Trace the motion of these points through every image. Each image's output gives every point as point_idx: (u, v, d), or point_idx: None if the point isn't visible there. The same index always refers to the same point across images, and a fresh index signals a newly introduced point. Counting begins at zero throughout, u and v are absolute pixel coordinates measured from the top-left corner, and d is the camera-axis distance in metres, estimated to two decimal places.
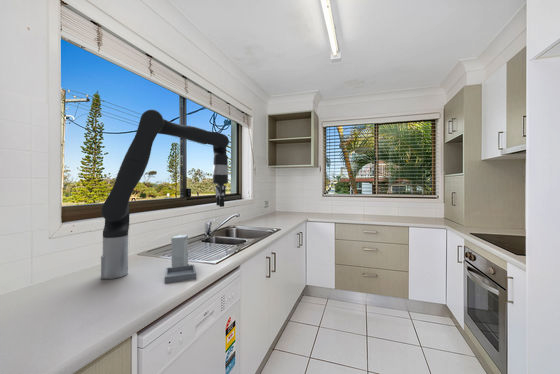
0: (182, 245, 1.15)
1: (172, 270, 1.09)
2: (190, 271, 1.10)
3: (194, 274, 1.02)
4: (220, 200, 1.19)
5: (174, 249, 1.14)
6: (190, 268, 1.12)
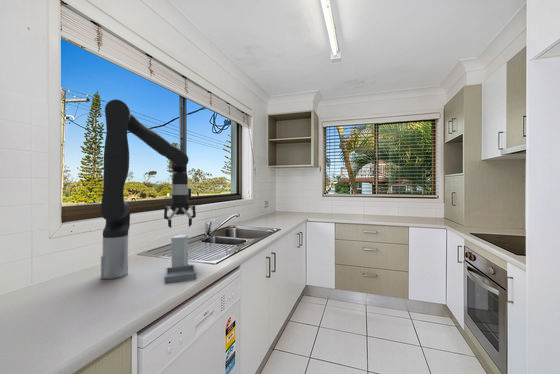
0: (182, 245, 1.15)
1: (172, 270, 1.09)
2: (190, 271, 1.10)
3: (194, 274, 1.02)
4: (190, 220, 1.20)
5: (174, 249, 1.14)
6: (190, 268, 1.12)
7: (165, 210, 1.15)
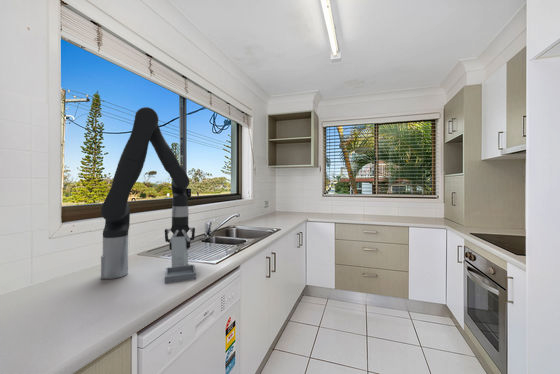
0: (182, 245, 1.15)
1: (172, 270, 1.09)
2: (190, 271, 1.10)
3: (194, 274, 1.02)
4: (188, 242, 1.19)
5: (174, 249, 1.14)
6: (190, 268, 1.12)
7: (165, 233, 1.15)
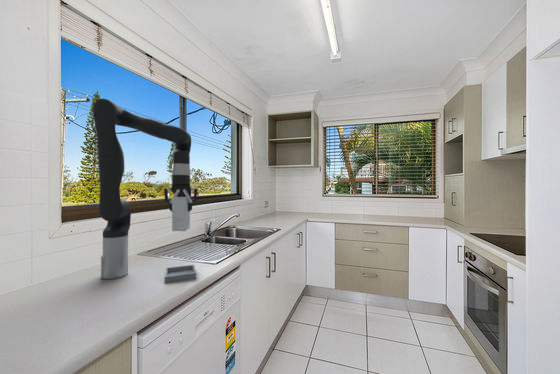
0: (184, 205, 1.05)
1: (172, 270, 1.09)
2: (190, 271, 1.10)
3: (194, 274, 1.02)
4: (190, 204, 1.10)
5: (175, 209, 1.05)
6: (190, 268, 1.12)
7: (165, 192, 1.05)
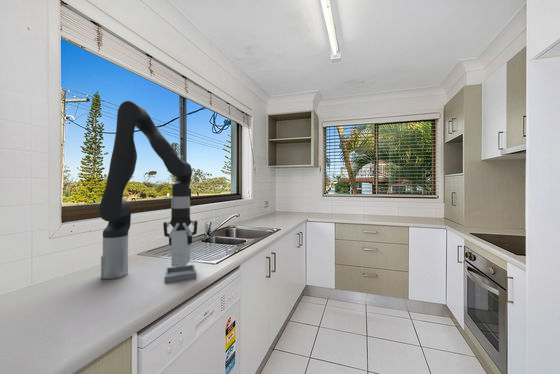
0: (183, 240, 1.02)
1: (172, 270, 1.09)
2: (190, 271, 1.10)
3: (194, 274, 1.02)
4: (190, 237, 1.07)
5: (174, 244, 1.02)
6: (190, 268, 1.12)
7: (164, 227, 1.02)
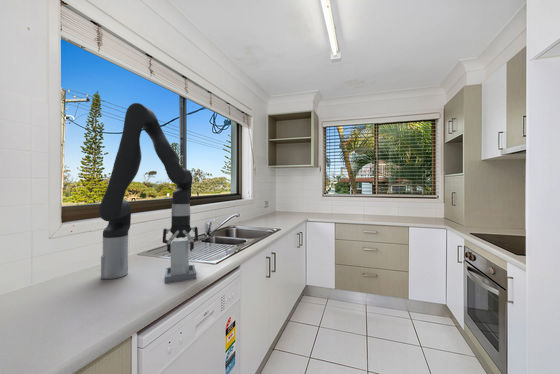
0: (183, 251, 1.02)
1: None
2: (190, 271, 1.10)
3: (194, 274, 1.02)
4: (192, 243, 1.07)
5: (173, 255, 1.01)
6: (190, 268, 1.12)
7: (164, 233, 1.02)
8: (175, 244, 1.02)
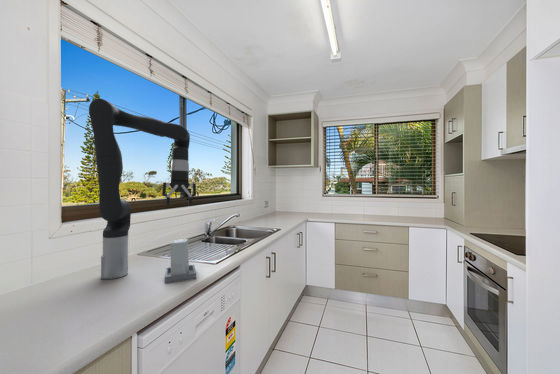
0: (183, 251, 1.02)
1: None
2: (190, 271, 1.10)
3: (194, 274, 1.02)
4: (190, 198, 1.13)
5: (173, 255, 1.01)
6: (190, 268, 1.12)
7: (164, 186, 1.08)
8: (175, 244, 1.02)
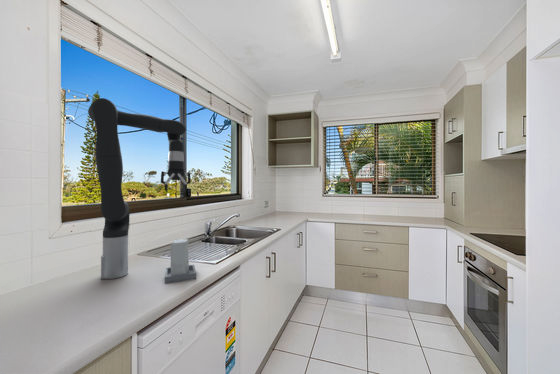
0: (183, 251, 1.02)
1: None
2: (190, 271, 1.10)
3: (194, 274, 1.02)
4: (185, 186, 1.28)
5: (173, 255, 1.01)
6: (190, 268, 1.12)
7: (162, 175, 1.23)
8: (175, 244, 1.02)
